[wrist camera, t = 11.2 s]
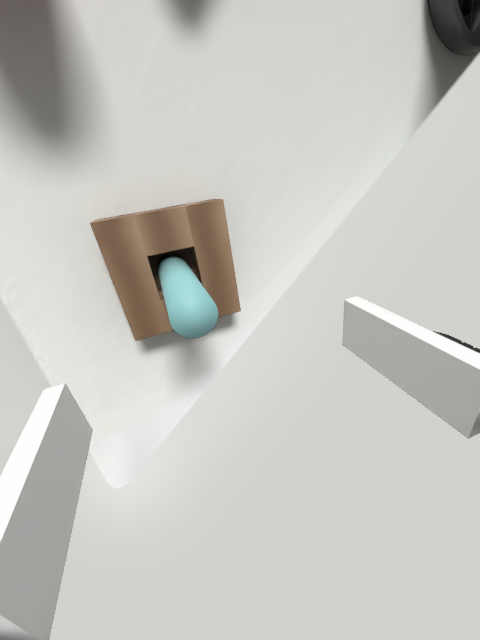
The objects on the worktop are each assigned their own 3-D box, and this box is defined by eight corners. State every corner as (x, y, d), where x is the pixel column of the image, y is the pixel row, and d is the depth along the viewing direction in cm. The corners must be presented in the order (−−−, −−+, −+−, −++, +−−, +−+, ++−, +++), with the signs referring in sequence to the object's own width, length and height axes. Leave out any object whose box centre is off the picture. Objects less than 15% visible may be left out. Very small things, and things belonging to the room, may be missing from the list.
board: (214, 199, 29) (223, 199, 26) (231, 300, 34) (240, 310, 31) (95, 220, 26) (90, 223, 23) (135, 327, 31) (135, 340, 28)
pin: (182, 250, 29) (213, 287, 17) (189, 278, 31) (221, 330, 19) (153, 256, 28) (163, 300, 16) (161, 284, 30) (176, 344, 18)
